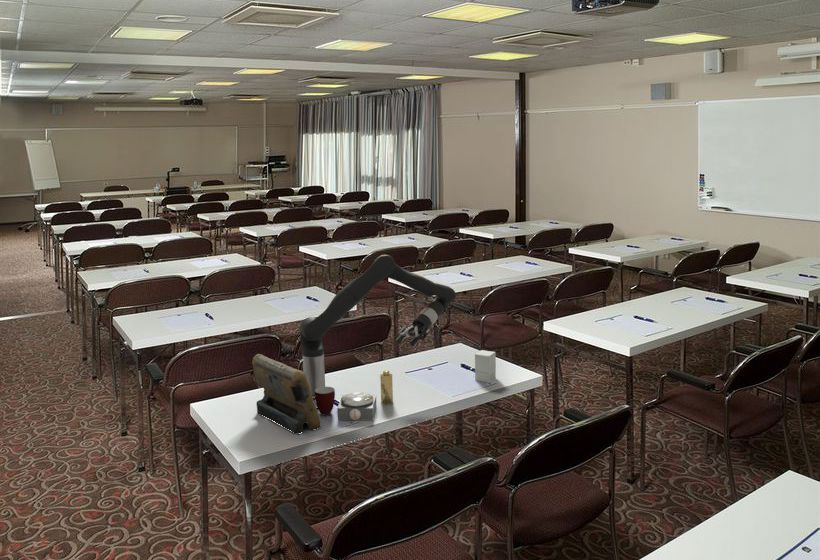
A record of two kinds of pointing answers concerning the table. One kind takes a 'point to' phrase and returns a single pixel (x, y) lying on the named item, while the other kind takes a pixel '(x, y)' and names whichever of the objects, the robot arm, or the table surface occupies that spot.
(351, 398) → the scale platter
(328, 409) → the mug
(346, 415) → the scale housing
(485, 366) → the supplement box
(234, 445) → the table surface
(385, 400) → the calibration weight
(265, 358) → the tablet
